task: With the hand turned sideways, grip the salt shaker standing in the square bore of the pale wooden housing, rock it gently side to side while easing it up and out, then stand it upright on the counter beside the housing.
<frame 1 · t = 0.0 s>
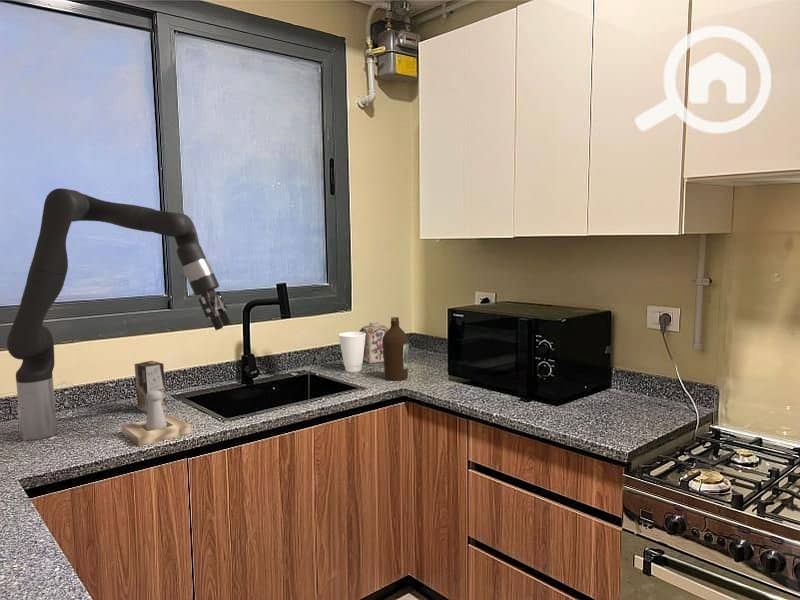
hand: (223, 326, 172), 31 cm above the worktop, tool tilted 20°, fingers open, 8 cm apart
coffee box: (152, 409, 198), on the worktop
decorative jar: (375, 360, 271), on the worktop
olive oil: (396, 378, 235), on the worktop
cup: (353, 370, 251), on the worktop
bore housing: (156, 433, 173), on the worktop
salt shaker: (156, 434, 173), resting in bore housing
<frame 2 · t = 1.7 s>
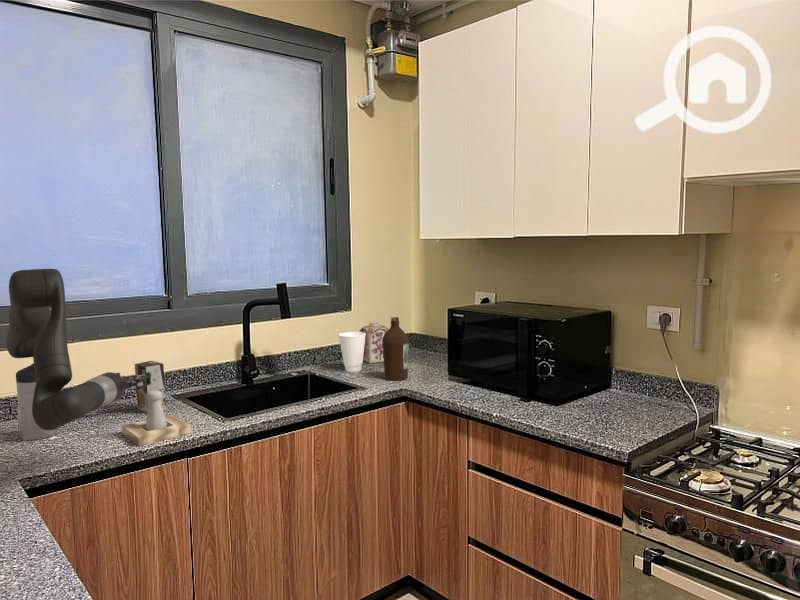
hand: (134, 376, 160), 20 cm above the worktop, tool horizontal, fingers open, 8 cm apart
nothing on the worktop moved.
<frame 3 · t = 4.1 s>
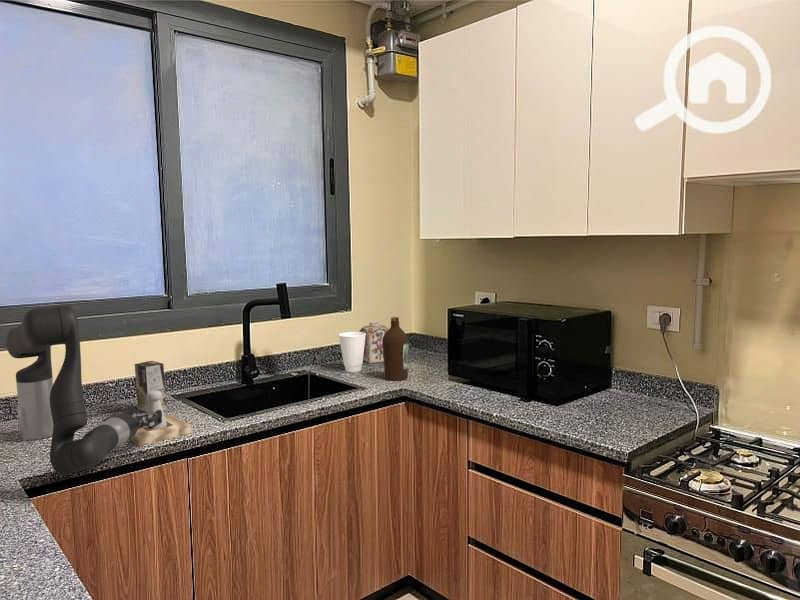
hand: (145, 413, 166), 8 cm above the worktop, tool horizontal, fingers open, 8 cm apart
nothing on the worktop moved.
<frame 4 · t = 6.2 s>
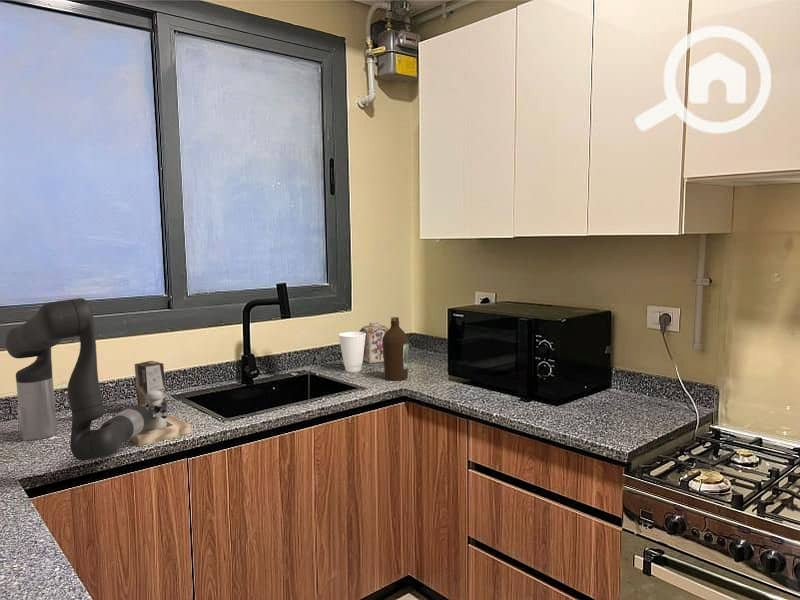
hand: (159, 404, 175), 8 cm above the worktop, tool horizontal, fingers closed on salt shaker, 3 cm apart
salt shaker: (156, 434, 173), resting in bore housing, touching gripper
everything else where it was.
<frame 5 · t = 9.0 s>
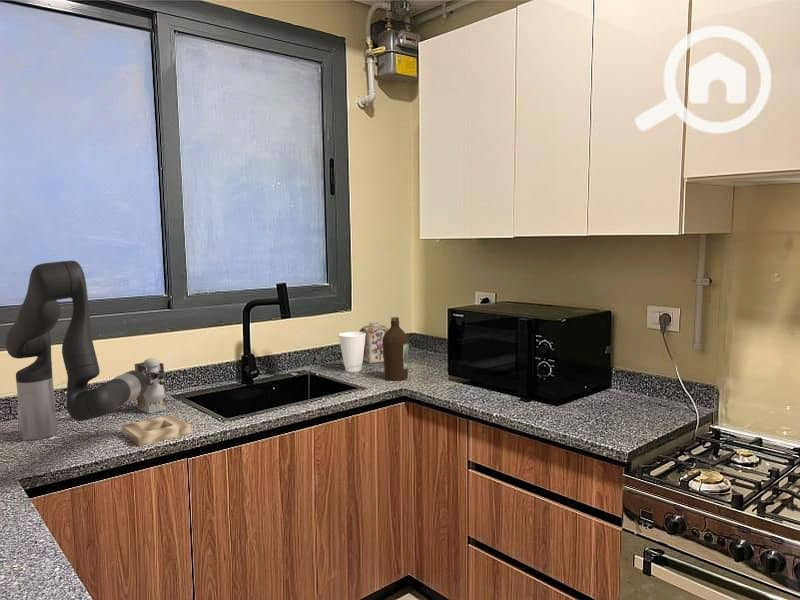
hand: (156, 372, 175), 18 cm above the worktop, tool horizontal, fingers closed on salt shaker, 3 cm apart
salt shaker: (154, 401, 173), point 9 cm above the worktop, touching gripper
everything else where it was.
when the fingers open (9 cm above the worktop, at t = 11.8 s): salt shaker stays where it is, on the worktop.
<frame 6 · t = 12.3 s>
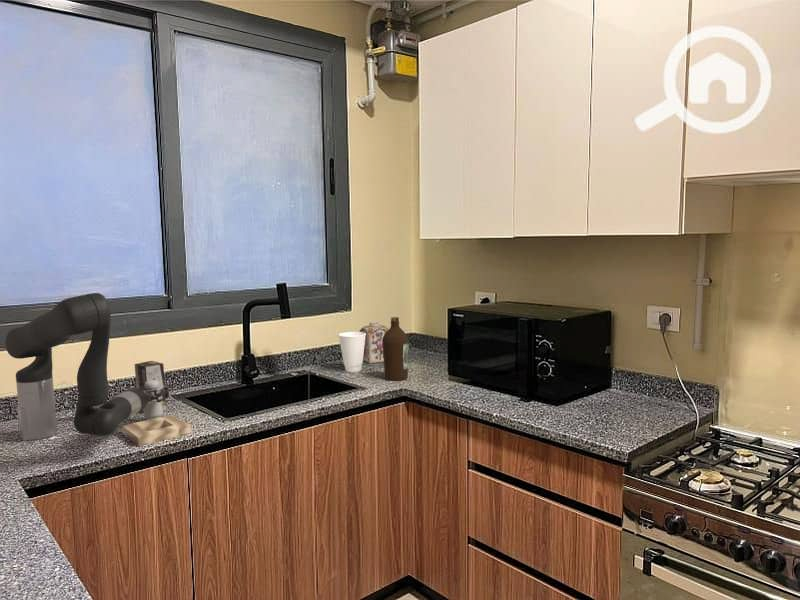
hand: (154, 389, 187), 10 cm above the worktop, tool horizontal, fingers open, 8 cm apart
salt shaker: (153, 420, 186), on the worktop
everything else where it was.
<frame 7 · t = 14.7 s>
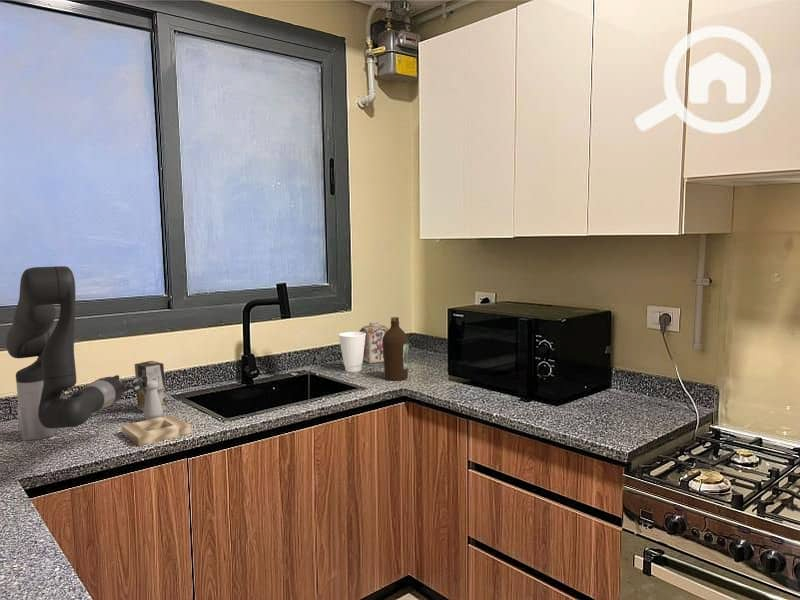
hand: (131, 378, 174), 16 cm above the worktop, tool horizontal, fingers open, 8 cm apart
nothing on the worktop moved.
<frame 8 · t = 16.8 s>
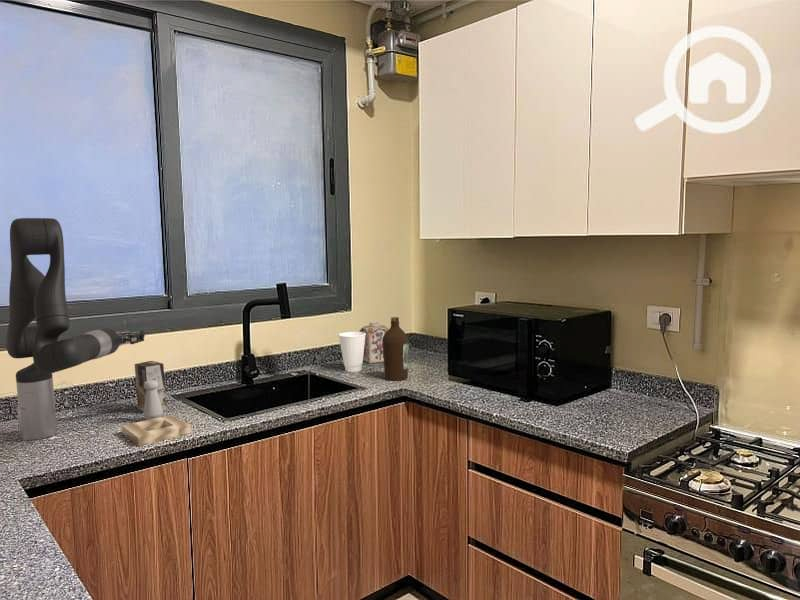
hand: (128, 334, 172), 30 cm above the worktop, tool horizontal, fingers open, 8 cm apart
nothing on the worktop moved.
at the end: salt shaker inside the target area (0.2 cm from its centre), on the worktop; salt shaker tilted 0°; the gripper is holding nothing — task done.
